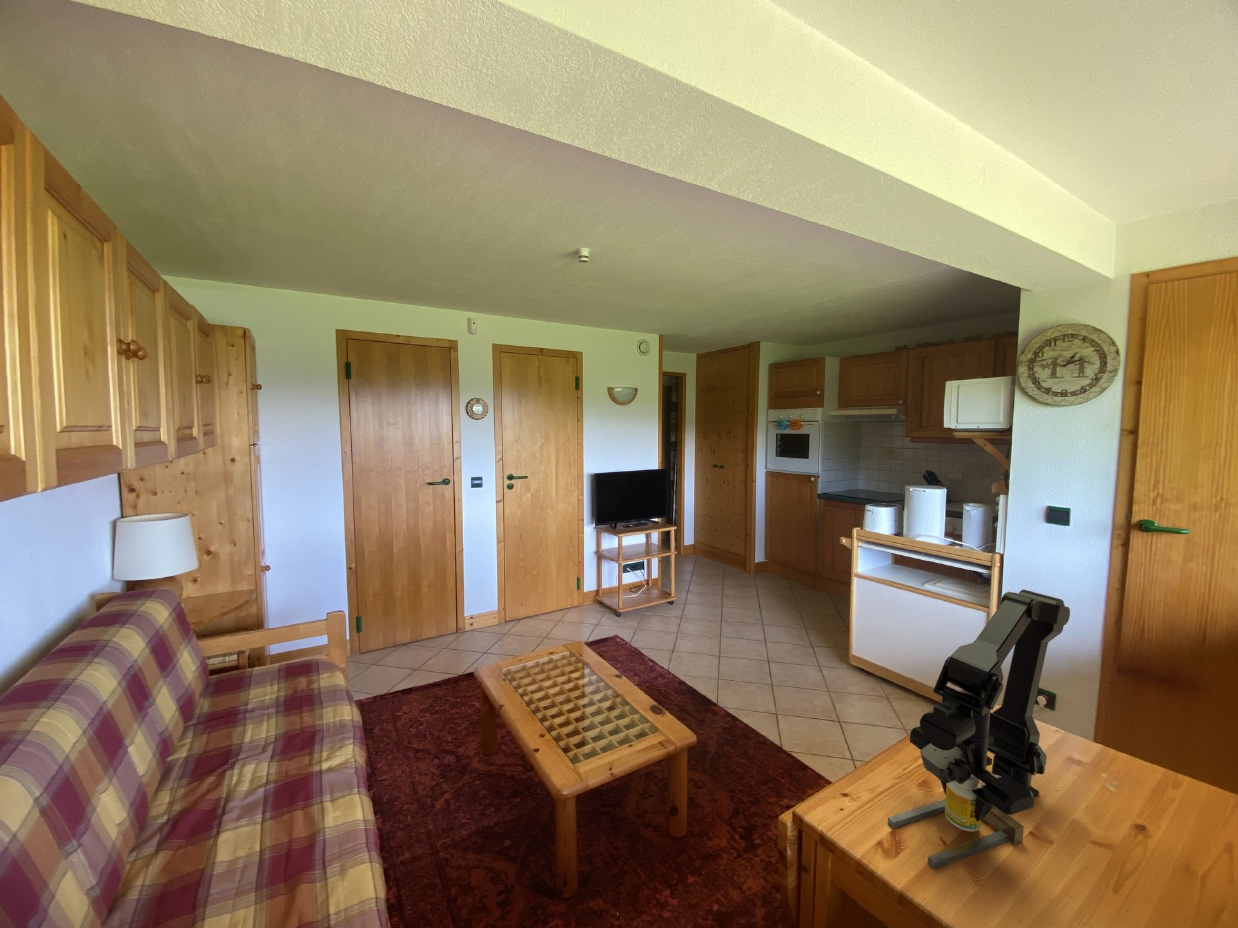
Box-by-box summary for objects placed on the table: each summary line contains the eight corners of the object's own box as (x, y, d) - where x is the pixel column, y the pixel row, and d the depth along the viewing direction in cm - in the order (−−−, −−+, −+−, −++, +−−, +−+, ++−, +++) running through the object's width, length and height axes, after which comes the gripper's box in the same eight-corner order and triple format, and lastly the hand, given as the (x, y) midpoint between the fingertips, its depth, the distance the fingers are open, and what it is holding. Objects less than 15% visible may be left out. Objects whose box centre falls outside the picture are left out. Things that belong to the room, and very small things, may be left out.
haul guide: (961, 794, 95) (962, 780, 95) (1022, 841, 85) (1023, 826, 85) (884, 819, 90) (884, 804, 90) (938, 873, 80) (939, 856, 79)
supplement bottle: (952, 803, 92) (955, 756, 91) (985, 823, 87) (989, 774, 86) (938, 816, 89) (941, 768, 88) (972, 838, 84) (976, 787, 83)
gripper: (888, 705, 93) (885, 780, 94) (988, 775, 75) (981, 866, 77) (934, 694, 96) (929, 767, 98) (1039, 759, 78) (1032, 846, 80)
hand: (963, 807), depth 88 cm, fingers closed on supplement bottle, 5 cm apart
